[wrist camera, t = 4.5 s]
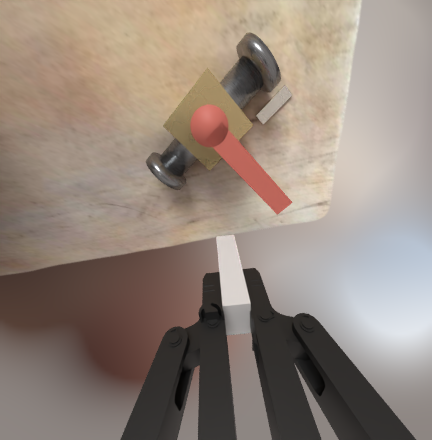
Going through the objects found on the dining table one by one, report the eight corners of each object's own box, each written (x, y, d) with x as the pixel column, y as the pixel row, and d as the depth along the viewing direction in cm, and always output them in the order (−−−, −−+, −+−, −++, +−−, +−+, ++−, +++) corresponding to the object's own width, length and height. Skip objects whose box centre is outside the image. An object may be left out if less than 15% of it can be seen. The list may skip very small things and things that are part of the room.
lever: (183, 126, 18) (182, 127, 17) (208, 95, 17) (208, 94, 16) (269, 213, 24) (272, 218, 23) (292, 194, 23) (297, 198, 22)
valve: (195, 193, 31) (193, 217, 24) (149, 153, 28) (129, 166, 20) (291, 95, 25) (328, 86, 18) (247, 28, 22) (270, -19, 14)
